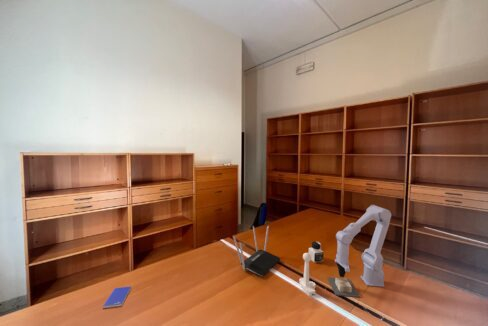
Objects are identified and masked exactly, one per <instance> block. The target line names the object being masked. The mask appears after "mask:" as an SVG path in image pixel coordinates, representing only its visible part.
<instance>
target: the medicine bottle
mask: <svg viewBox="0 0 488 326" xmlns="http://www.w3.org/2000/svg"><path fill="white" fill-rule="evenodd" d="M308 253H309V254H310V255H311V260H310V261H312V262H313V263H315V264H316V263H322V262H324V255H325V254H324V253H325V252H324V250H322V243H321V242H319V241H312V242H311V247H309V248H308Z"/></svg>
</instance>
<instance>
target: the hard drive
mask: <svg viewBox="0 0 488 326" xmlns="http://www.w3.org/2000/svg"><path fill="white" fill-rule="evenodd" d="M131 289H132V287H131V286H123V287H114V289H113V290H112V292H110V294H109V296H108V297H107V299H106V301H105V302H104V303H103V306H102V309H106V308H115V307H121V306H123V304H124V302H125V300H126V298H127V296H128V295H129V293H130V291H131Z"/></svg>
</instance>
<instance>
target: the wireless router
mask: <svg viewBox="0 0 488 326" xmlns="http://www.w3.org/2000/svg"><path fill="white" fill-rule="evenodd" d="M252 229H253V230H252V231H253V236H254V242H255V243H254V244H255V252H254V253H253V254H251V255H250V256H249V257H248V258H246V259H244V251H243V246H242V243H241V242H239V246H238V242H237V240H236V237H235V235H233V241H234V244H235V245H234V246H235V249H236V253H237V256H238V258H239V262H240V265H241V266H242V270H243V271H249V272H251V273H254V274H255V275H258V276H260V277H264V275H266V274H267V273H268V272H269V271H270V270H271V269H272V268H273V267H274V266H275V265H277V263H278V262H280V260H281V258H280V257H279V256H277V255H275V254H273V253H271V252H269V251H267V245H268V244H267V243H268V235H269V225H267V227H266V232H265V238H264V239H265V241H264V247H263V249H259V248H258V243H257V242H258V241H257V237H256V229H255V226H254V225H252ZM239 248H240V249H239Z"/></svg>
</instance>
